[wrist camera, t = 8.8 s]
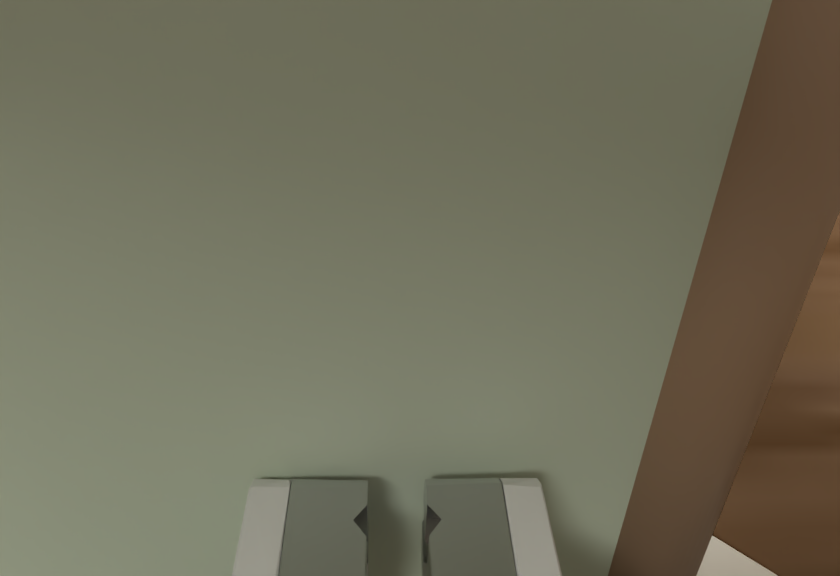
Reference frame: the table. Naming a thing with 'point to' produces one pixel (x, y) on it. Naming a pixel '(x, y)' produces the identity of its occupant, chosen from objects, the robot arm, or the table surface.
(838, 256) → the table surface
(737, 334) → the fence panel
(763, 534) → the table surface
